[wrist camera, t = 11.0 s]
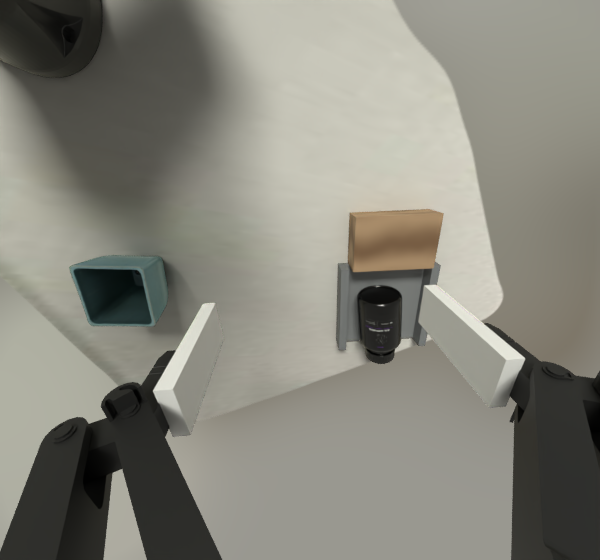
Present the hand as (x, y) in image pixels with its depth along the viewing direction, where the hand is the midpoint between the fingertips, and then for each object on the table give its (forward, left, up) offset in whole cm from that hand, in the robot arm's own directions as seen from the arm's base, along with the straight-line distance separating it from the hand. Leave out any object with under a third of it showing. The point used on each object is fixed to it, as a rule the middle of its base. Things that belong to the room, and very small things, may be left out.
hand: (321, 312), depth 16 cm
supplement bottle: (+9, +11, -21) cm, 25 cm away
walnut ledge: (+2, +13, -25) cm, 28 cm away
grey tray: (+13, +13, -25) cm, 31 cm away
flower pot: (+6, -25, -25) cm, 36 cm away
